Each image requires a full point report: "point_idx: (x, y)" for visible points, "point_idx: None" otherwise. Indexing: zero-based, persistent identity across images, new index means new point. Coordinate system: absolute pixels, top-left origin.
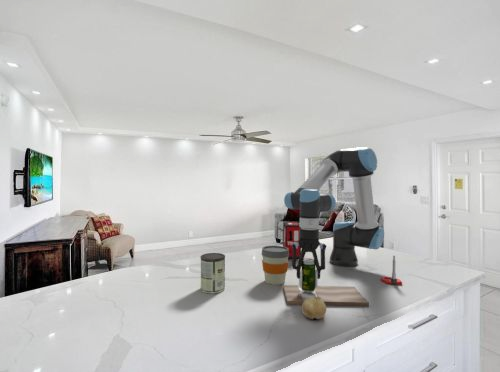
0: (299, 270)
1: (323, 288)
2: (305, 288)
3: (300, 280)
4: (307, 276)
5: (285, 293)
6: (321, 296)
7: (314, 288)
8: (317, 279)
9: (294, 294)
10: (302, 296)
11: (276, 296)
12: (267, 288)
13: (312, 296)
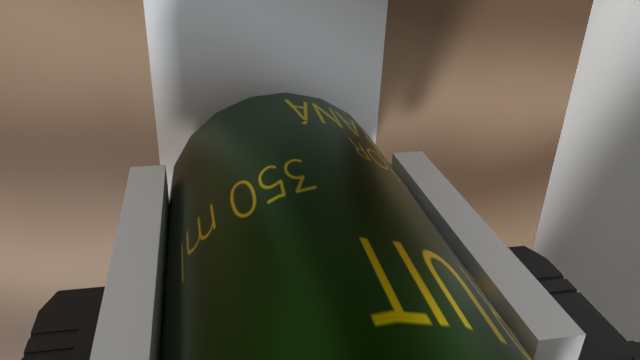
0: (613, 351)
1: (26, 332)
2: (346, 119)
3: (467, 208)
4: (384, 216)
5: (558, 126)
6: (78, 47)
7: (184, 154)
8: (114, 253)
9: (465, 93)
10: (380, 18)
11: (624, 115)
12: (636, 297)
13: (228, 30)
